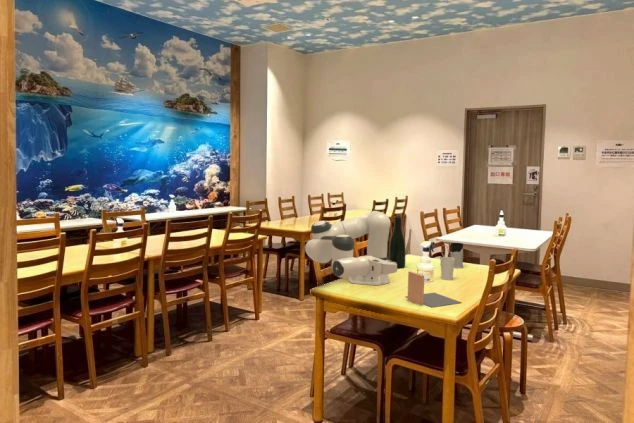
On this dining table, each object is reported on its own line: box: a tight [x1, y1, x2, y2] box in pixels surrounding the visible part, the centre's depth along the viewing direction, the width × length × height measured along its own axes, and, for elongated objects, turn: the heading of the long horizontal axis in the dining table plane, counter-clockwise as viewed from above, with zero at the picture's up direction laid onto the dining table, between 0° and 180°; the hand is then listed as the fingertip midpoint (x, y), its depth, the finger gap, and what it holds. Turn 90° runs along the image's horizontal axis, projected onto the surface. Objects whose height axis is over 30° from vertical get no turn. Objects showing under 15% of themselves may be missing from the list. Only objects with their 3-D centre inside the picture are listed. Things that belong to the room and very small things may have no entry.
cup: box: [440, 256, 455, 281], centre depth 286 cm, size 8×8×12 cm
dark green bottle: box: [388, 214, 406, 269], centre depth 317 cm, size 10×10×33 cm
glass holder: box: [440, 242, 464, 269], centre depth 320 cm, size 9×14×15 cm, turn 69°
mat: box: [404, 292, 462, 308], centre depth 242 cm, size 18×20×1 cm
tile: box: [407, 270, 425, 306], centre depth 237 cm, size 2×10×14 cm, turn 26°
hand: (393, 263), depth 230 cm, fingers closed
